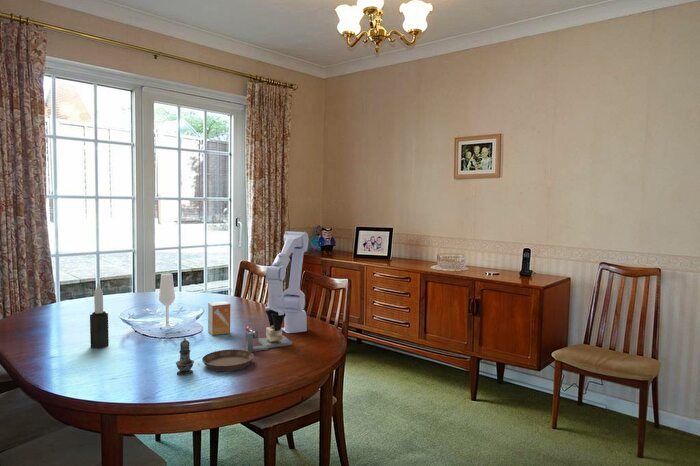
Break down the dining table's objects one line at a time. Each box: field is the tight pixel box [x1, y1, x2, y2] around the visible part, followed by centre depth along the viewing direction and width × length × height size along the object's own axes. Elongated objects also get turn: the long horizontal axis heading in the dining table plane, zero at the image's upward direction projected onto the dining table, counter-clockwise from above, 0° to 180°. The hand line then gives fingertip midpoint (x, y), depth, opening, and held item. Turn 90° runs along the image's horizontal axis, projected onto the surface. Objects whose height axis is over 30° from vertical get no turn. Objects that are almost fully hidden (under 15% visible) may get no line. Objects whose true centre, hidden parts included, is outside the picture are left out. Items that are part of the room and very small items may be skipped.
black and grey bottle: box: [89, 282, 110, 350], centre depth 186 cm, size 5×5×25 cm
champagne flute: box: [158, 272, 176, 327], centre depth 214 cm, size 7×7×24 cm
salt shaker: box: [175, 337, 195, 377], centre depth 161 cm, size 6×6×12 cm
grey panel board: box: [245, 331, 293, 353], centre depth 193 cm, size 19×12×7 cm, turn 118°
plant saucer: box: [201, 348, 254, 372], centre depth 171 cm, size 18×18×3 cm
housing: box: [265, 325, 283, 342], centre depth 195 cm, size 5×5×6 cm
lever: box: [245, 326, 259, 340], centre depth 190 cm, size 2×11×3 cm, turn 28°
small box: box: [207, 300, 232, 336], centre depth 208 cm, size 8×6×13 cm
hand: (275, 328), depth 195 cm, fingers closed on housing, 5 cm apart
